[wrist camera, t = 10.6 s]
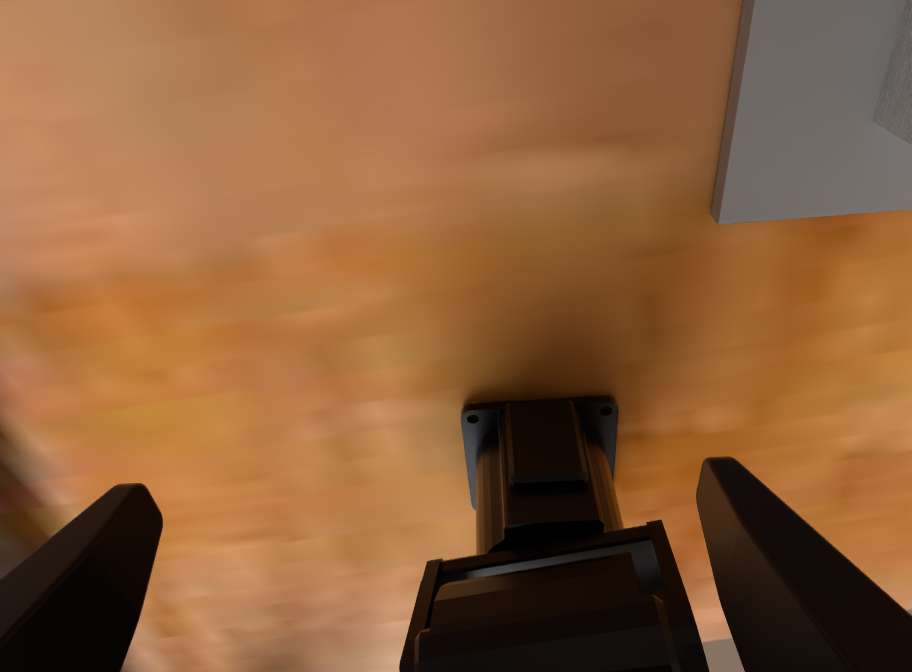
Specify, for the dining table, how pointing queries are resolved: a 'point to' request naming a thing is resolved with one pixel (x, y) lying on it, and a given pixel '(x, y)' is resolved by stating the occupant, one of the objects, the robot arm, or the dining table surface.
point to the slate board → (811, 114)
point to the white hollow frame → (898, 84)
